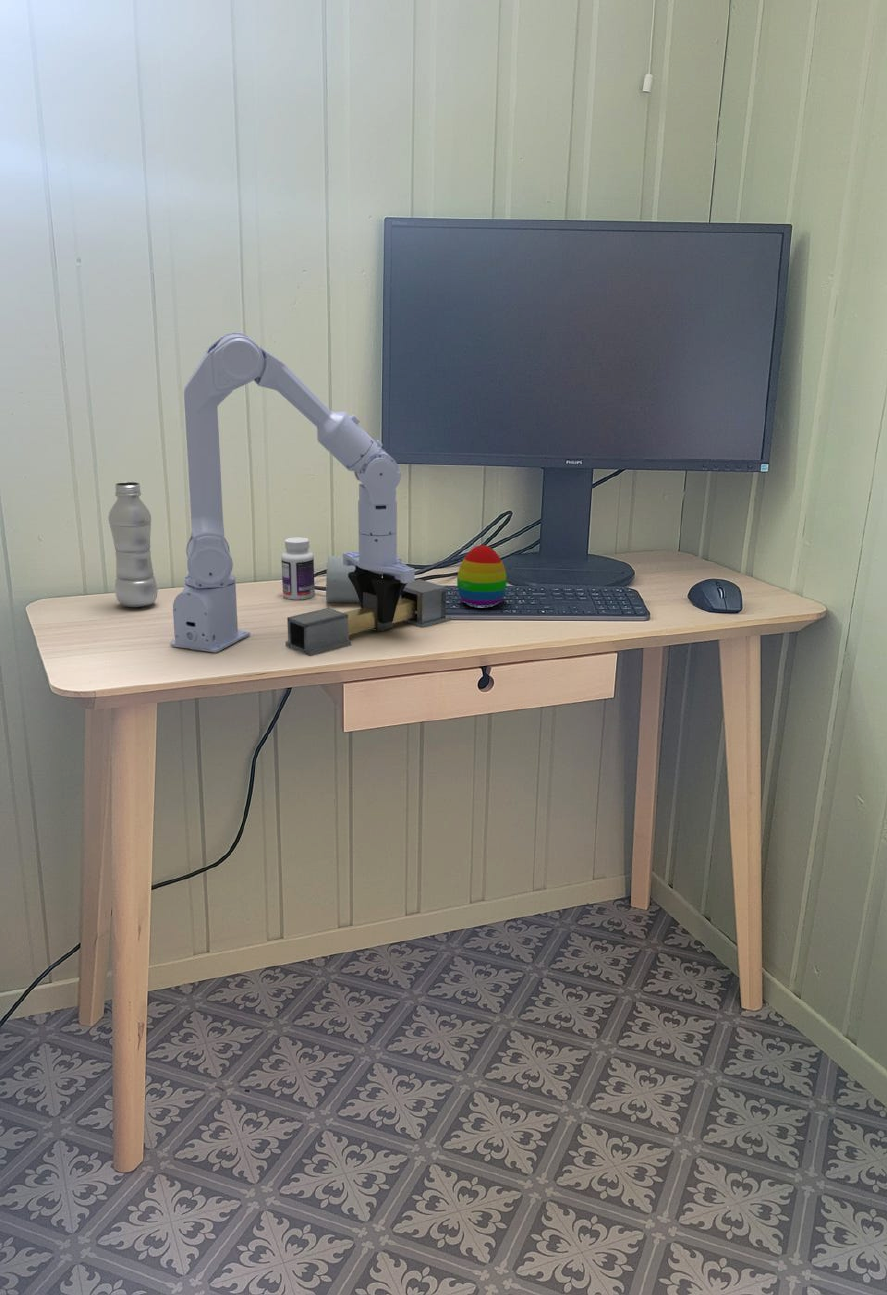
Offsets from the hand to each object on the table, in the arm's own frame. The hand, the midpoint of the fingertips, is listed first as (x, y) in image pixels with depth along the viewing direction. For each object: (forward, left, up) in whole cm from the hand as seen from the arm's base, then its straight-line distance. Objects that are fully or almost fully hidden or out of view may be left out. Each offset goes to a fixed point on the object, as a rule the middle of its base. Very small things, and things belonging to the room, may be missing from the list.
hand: (378, 619), depth 167 cm
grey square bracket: (+8, -4, -2) cm, 9 cm away
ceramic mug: (+14, +12, -2) cm, 18 cm away
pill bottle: (+12, +20, -2) cm, 23 cm away
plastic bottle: (-4, +41, -2) cm, 42 cm away
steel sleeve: (-10, +5, -2) cm, 12 cm away
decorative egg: (+20, -10, -2) cm, 22 cm away
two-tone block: (-2, +1, -1) cm, 2 cm away
